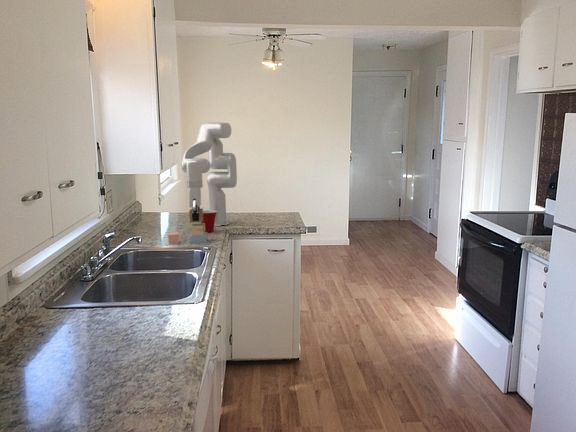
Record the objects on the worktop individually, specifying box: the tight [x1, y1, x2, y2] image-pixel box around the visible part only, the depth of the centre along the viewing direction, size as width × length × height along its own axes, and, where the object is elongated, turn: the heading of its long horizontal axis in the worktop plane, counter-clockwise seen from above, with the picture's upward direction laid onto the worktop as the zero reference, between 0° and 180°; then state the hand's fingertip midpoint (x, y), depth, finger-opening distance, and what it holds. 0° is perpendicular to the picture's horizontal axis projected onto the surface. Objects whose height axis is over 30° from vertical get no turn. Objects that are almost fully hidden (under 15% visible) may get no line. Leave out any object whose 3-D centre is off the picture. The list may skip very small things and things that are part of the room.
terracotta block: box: [167, 231, 180, 245], centre depth 253 cm, size 5×5×5 cm
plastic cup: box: [200, 209, 217, 234], centre depth 278 cm, size 11×11×12 cm
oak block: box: [190, 222, 205, 236], centre depth 256 cm, size 6×6×5 cm
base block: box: [189, 232, 208, 244], centre depth 256 cm, size 8×8×4 cm
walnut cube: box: [188, 208, 204, 224], centre depth 254 cm, size 6×6×6 cm
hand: (196, 219), depth 254 cm, fingers closed on walnut cube, 6 cm apart
